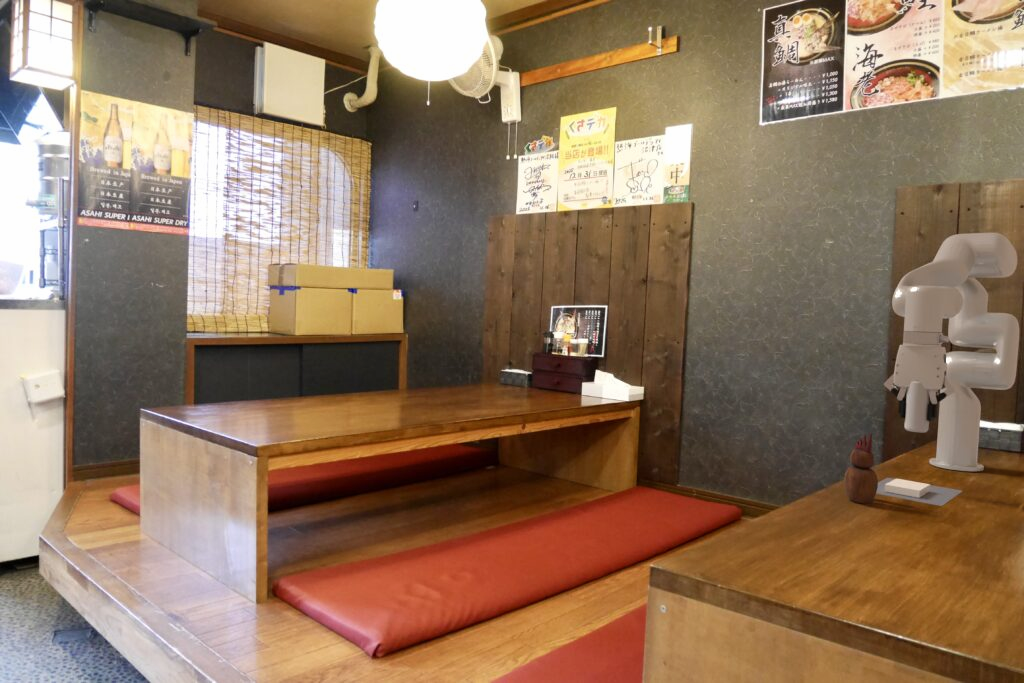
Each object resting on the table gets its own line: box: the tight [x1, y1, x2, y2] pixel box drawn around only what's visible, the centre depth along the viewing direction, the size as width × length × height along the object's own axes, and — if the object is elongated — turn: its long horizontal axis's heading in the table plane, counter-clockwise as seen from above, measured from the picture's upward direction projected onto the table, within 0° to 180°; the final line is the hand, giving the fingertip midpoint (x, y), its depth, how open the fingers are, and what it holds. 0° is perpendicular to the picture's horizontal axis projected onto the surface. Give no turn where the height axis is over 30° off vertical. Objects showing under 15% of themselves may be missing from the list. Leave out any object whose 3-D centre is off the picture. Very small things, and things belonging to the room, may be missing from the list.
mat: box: [876, 477, 963, 507], centre depth 162 cm, size 20×16×1 cm
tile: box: [885, 478, 931, 498], centre depth 160 cm, size 2×7×9 cm
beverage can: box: [904, 379, 931, 433], centre depth 162 cm, size 5×5×12 cm
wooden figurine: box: [843, 433, 879, 504], centre depth 152 cm, size 7×6×15 cm
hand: (917, 418), depth 162 cm, fingers closed on beverage can, 4 cm apart
